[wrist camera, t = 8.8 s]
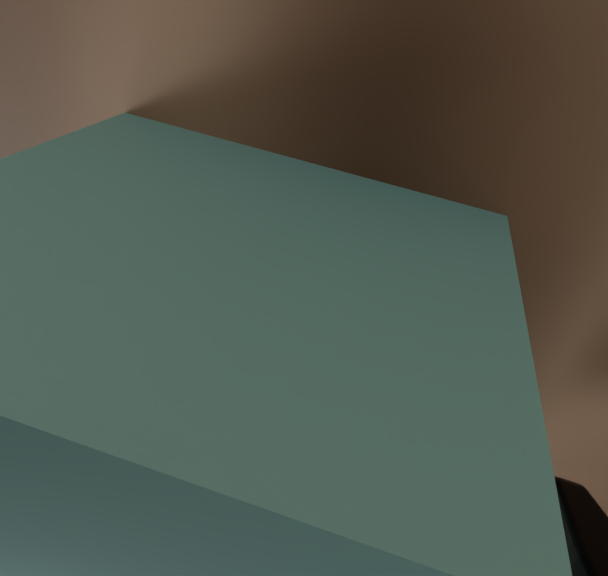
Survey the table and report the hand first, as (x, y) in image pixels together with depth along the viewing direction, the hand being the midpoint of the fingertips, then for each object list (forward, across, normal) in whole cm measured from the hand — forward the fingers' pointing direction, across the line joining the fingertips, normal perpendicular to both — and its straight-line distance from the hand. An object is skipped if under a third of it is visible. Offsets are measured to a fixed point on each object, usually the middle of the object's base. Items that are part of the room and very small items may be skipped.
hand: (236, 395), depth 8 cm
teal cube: (+2, 0, 0) cm, 2 cm away
